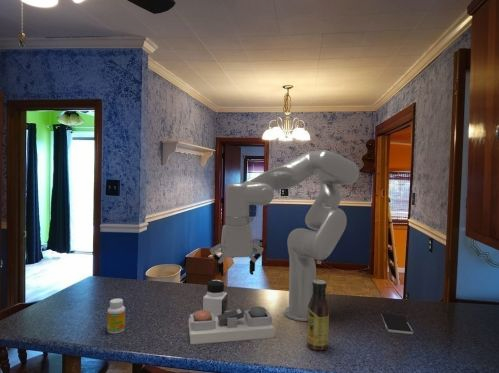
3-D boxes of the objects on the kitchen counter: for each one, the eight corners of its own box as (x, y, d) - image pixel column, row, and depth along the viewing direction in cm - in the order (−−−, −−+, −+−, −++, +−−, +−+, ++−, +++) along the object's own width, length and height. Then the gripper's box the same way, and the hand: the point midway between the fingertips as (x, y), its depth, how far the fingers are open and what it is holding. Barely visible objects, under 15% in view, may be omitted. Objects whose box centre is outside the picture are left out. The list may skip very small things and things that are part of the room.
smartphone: (403, 314, 131) (413, 331, 116) (403, 318, 131) (413, 335, 116) (380, 312, 133) (387, 329, 118) (380, 315, 133) (387, 332, 118)
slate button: (263, 313, 120) (263, 306, 120) (267, 319, 115) (267, 311, 115) (248, 314, 119) (248, 306, 119) (252, 320, 114) (252, 312, 114)
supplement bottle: (108, 335, 112) (108, 304, 111) (106, 328, 116) (106, 299, 116) (126, 332, 114) (126, 302, 114) (123, 325, 119) (123, 296, 118)
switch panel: (264, 322, 124) (265, 305, 123) (274, 337, 112) (274, 319, 112) (188, 327, 118) (188, 310, 118) (190, 344, 106) (190, 325, 106)
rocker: (241, 312, 118) (240, 307, 118) (244, 317, 114) (243, 312, 114) (218, 320, 116) (217, 315, 116) (220, 325, 112) (218, 320, 112)
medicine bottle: (221, 318, 126) (222, 285, 125) (202, 316, 127) (203, 283, 127) (227, 311, 133) (227, 279, 132) (208, 309, 134) (209, 277, 134)
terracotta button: (209, 316, 116) (209, 309, 116) (211, 323, 111) (211, 315, 111) (194, 318, 115) (194, 310, 115) (195, 324, 110) (195, 316, 110)
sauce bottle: (305, 341, 110) (306, 277, 109) (325, 342, 110) (327, 277, 109) (308, 351, 103) (309, 283, 103) (329, 352, 103) (331, 284, 102)
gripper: (261, 219, 120) (260, 270, 121) (209, 220, 117) (209, 271, 118) (265, 222, 113) (265, 276, 113) (210, 223, 110) (210, 278, 110)
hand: (236, 274), depth 115 cm, fingers open, 9 cm apart
